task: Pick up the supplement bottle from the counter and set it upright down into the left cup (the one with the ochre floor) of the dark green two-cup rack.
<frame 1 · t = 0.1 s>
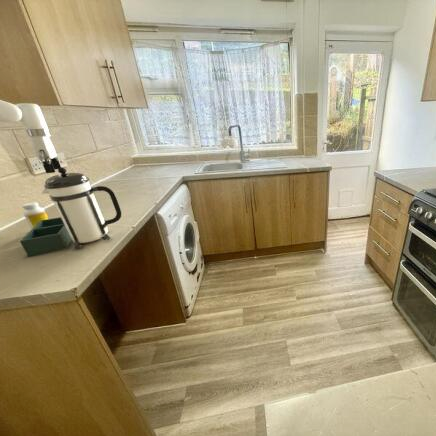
hand: (54, 170, 117), 23 cm above the countertop, tool pointing down, fingers open, 9 cm apart
supplement bottle: (44, 230, 110), on the countertop
coffee press: (97, 238, 102), on the countertop
cup rack: (56, 240, 101), on the countertop
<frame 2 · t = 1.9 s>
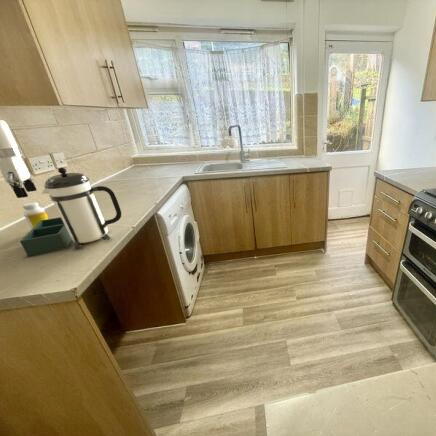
hand: (27, 194, 104), 17 cm above the countertop, tool pointing down, fingers open, 9 cm apart
nothing on the countertop moved.
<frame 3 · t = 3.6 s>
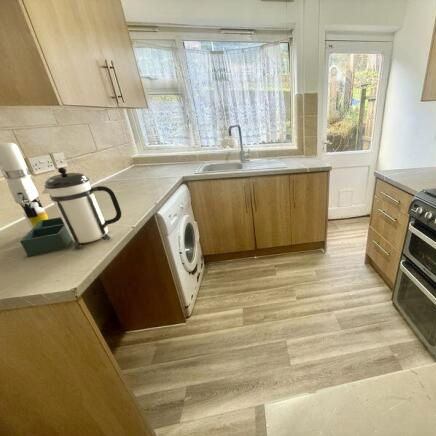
hand: (36, 213, 107), 8 cm above the countertop, tool pointing down, fingers closed on supplement bottle, 6 cm apart
supplement bottle: (44, 230, 110), on the countertop, touching gripper
everything else where it was.
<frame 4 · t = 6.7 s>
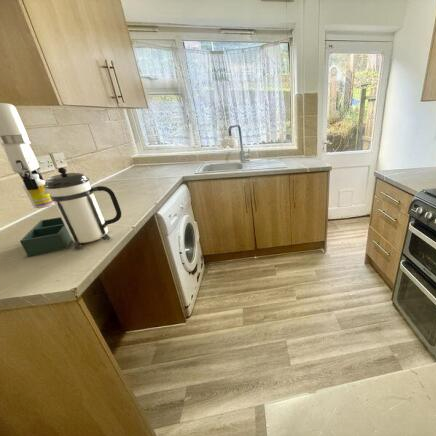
hand: (36, 186, 96), 22 cm above the countertop, tool pointing down, fingers closed on supplement bottle, 6 cm apart
supplement bottle: (45, 206, 100), point 14 cm above the countertop, touching gripper
everything else where it was.
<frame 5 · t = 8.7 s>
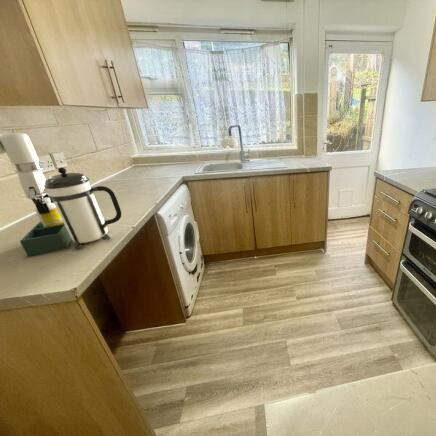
hand: (48, 210, 100), 12 cm above the countertop, tool pointing down, fingers closed on supplement bottle, 6 cm apart
supplement bottle: (56, 228, 103), point 4 cm above the countertop, touching gripper
everything else where it was.
when the fingers open (9 cm above the countertop, at t = 10.1 s): supplement bottle stays where it is, resting on cup rack.
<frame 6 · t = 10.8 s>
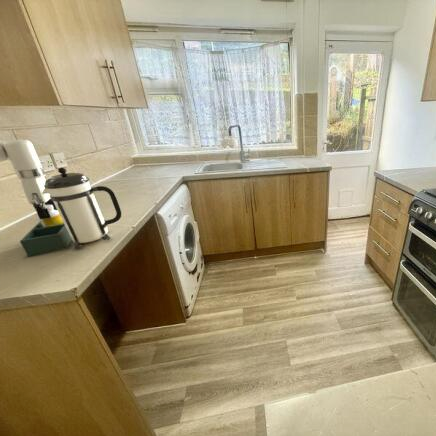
hand: (49, 214, 101), 10 cm above the countertop, tool pointing down, fingers open, 9 cm apart
supplement bottle: (59, 234, 105), point 1 cm above the countertop, touching cup rack
everything else where it was.
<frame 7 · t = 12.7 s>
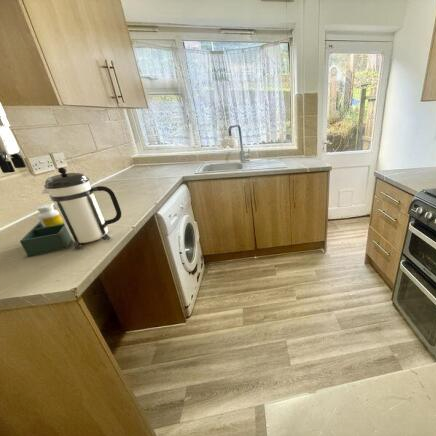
hand: (15, 169, 94), 29 cm above the countertop, tool pointing down, fingers open, 9 cm apart
nothing on the countertop moved.
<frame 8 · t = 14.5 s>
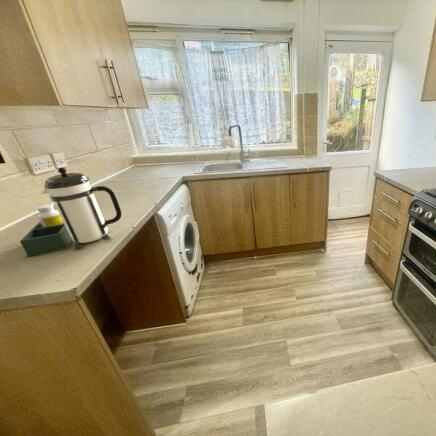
nothing on the countertop moved.
at the end: supplement bottle 0.1 cm from the target spot in the cup rack, point 0.6 cm above the cup rack's base; supplement bottle tilted 0°; the gripper is holding nothing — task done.
